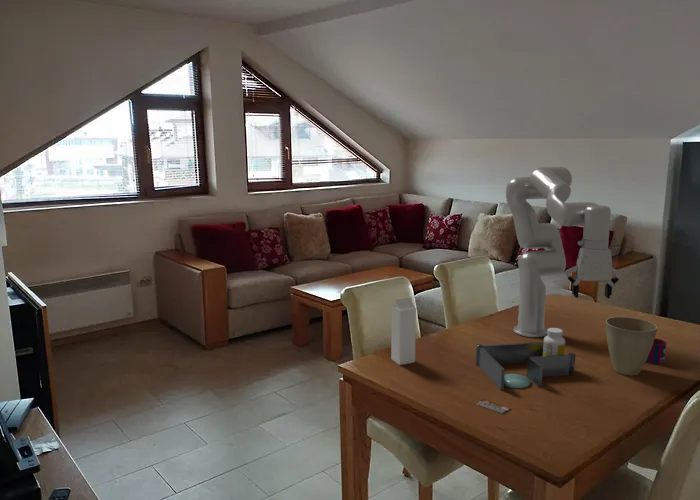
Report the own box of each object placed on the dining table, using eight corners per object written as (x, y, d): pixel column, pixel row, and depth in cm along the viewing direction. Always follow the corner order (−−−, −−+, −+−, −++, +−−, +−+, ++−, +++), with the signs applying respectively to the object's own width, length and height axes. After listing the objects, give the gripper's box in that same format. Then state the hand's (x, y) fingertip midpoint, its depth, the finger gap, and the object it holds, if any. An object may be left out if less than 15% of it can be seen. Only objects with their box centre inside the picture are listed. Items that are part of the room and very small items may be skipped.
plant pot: (650, 384, 177) (655, 334, 174) (598, 374, 185) (601, 326, 182) (654, 367, 190) (659, 321, 187) (605, 358, 198) (609, 313, 194)
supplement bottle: (563, 364, 193) (566, 327, 190) (563, 372, 187) (566, 334, 184) (542, 362, 195) (544, 325, 192) (541, 370, 189) (544, 332, 186)
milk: (415, 362, 196) (416, 299, 191) (399, 365, 193) (400, 301, 189) (406, 356, 201) (407, 294, 197) (390, 358, 199) (391, 296, 194)
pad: (495, 377, 183) (495, 374, 183) (522, 375, 185) (522, 373, 185) (507, 389, 175) (507, 386, 175) (535, 387, 176) (535, 384, 176)
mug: (659, 366, 191) (661, 346, 190) (628, 357, 199) (630, 338, 197) (667, 361, 195) (669, 341, 194) (637, 352, 203) (639, 334, 202)
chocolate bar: (514, 411, 162) (514, 409, 162) (505, 417, 158) (505, 415, 158) (480, 399, 169) (480, 396, 169) (471, 405, 166) (471, 402, 166)
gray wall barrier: (474, 363, 194) (475, 344, 193) (554, 358, 198) (555, 339, 197) (499, 390, 174) (500, 368, 173) (586, 383, 178) (588, 362, 177)
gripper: (569, 246, 181) (566, 299, 185) (628, 247, 179) (623, 301, 183) (564, 242, 189) (560, 293, 192) (620, 242, 187) (615, 294, 190)
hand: (591, 297), depth 187 cm, fingers open, 9 cm apart
